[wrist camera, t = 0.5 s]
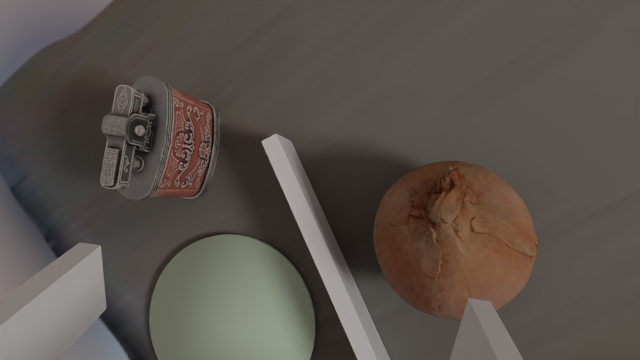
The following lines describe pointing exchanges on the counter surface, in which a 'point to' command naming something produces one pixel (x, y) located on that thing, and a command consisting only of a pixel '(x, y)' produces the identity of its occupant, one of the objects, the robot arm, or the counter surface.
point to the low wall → (324, 250)
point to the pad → (231, 304)
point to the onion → (454, 238)
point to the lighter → (159, 142)
